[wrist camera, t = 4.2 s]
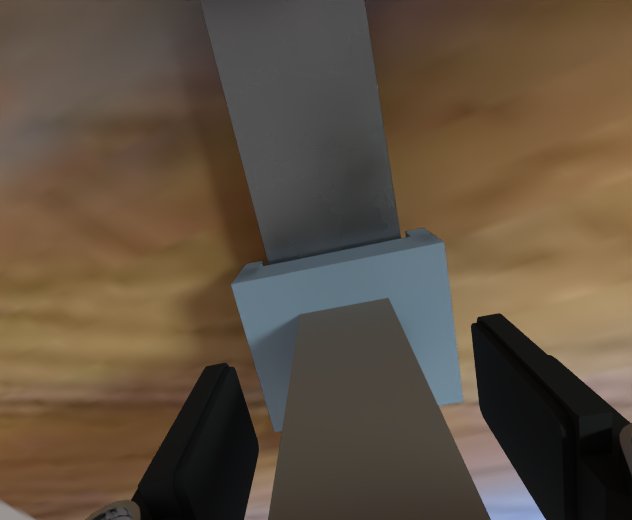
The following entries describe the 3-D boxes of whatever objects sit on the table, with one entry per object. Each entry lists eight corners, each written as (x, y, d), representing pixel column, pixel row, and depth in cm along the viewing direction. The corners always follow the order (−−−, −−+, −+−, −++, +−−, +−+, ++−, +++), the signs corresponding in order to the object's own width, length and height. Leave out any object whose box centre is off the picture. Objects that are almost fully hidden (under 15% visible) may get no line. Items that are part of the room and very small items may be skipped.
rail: (190, -84, 12) (142, -172, 9) (334, -125, 12) (338, -234, 8) (319, 421, 18) (317, 481, 14) (419, 405, 17) (441, 462, 14)
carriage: (246, 263, 14) (-29, 636, 3) (423, 227, 14) (849, 525, 3) (281, 391, 16) (183, 936, 5) (442, 364, 15) (754, 910, 4)
